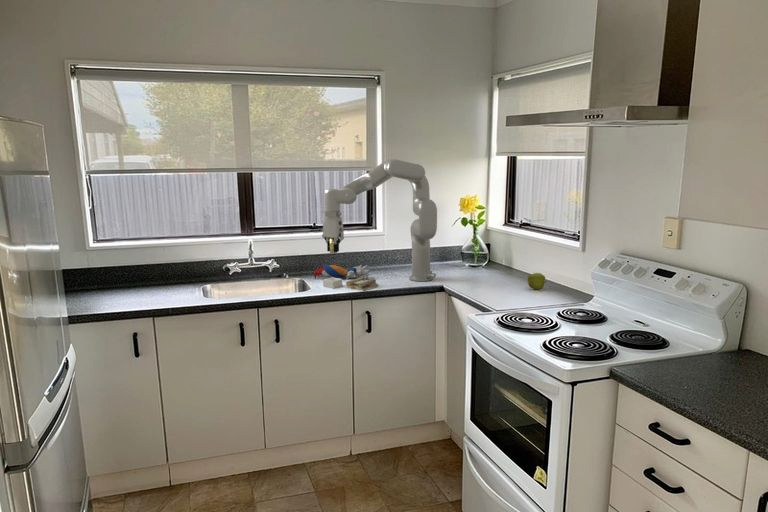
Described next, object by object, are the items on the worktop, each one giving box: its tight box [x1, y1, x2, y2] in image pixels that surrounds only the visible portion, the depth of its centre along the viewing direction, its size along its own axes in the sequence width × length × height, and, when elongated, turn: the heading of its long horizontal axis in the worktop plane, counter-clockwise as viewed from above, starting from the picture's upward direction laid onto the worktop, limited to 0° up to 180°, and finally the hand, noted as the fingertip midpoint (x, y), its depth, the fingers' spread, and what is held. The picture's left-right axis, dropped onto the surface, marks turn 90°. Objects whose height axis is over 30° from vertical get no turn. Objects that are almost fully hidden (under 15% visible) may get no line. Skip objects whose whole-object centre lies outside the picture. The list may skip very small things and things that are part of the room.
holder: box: [322, 276, 343, 289], centre depth 283 cm, size 7×7×4 cm
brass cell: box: [329, 238, 338, 254], centre depth 279 cm, size 4×4×8 cm
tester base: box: [345, 277, 379, 291], centre depth 281 cm, size 10×12×3 cm
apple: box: [527, 272, 548, 291], centre depth 270 cm, size 8×9×8 cm
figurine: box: [313, 264, 371, 280], centre depth 301 cm, size 27×9×30 cm
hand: (333, 251), depth 280 cm, fingers closed on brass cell, 3 cm apart
